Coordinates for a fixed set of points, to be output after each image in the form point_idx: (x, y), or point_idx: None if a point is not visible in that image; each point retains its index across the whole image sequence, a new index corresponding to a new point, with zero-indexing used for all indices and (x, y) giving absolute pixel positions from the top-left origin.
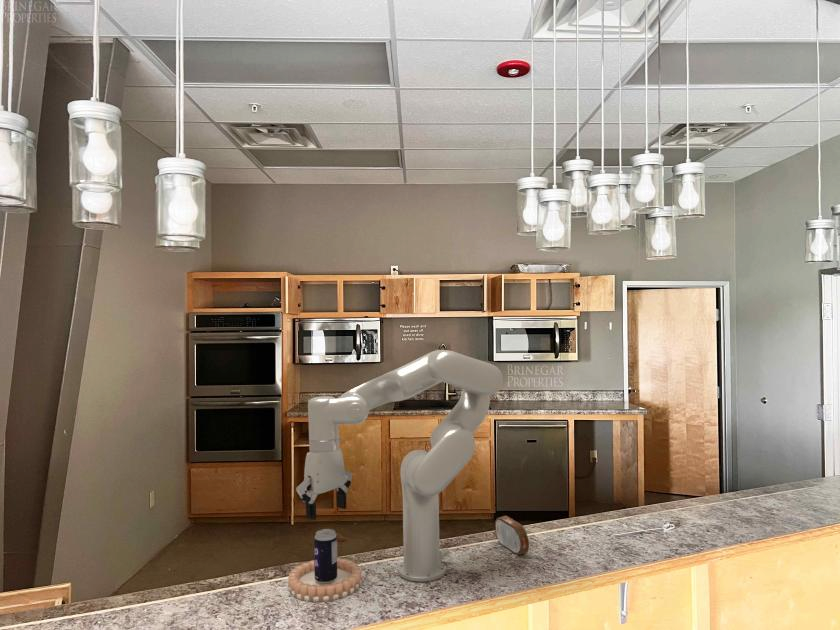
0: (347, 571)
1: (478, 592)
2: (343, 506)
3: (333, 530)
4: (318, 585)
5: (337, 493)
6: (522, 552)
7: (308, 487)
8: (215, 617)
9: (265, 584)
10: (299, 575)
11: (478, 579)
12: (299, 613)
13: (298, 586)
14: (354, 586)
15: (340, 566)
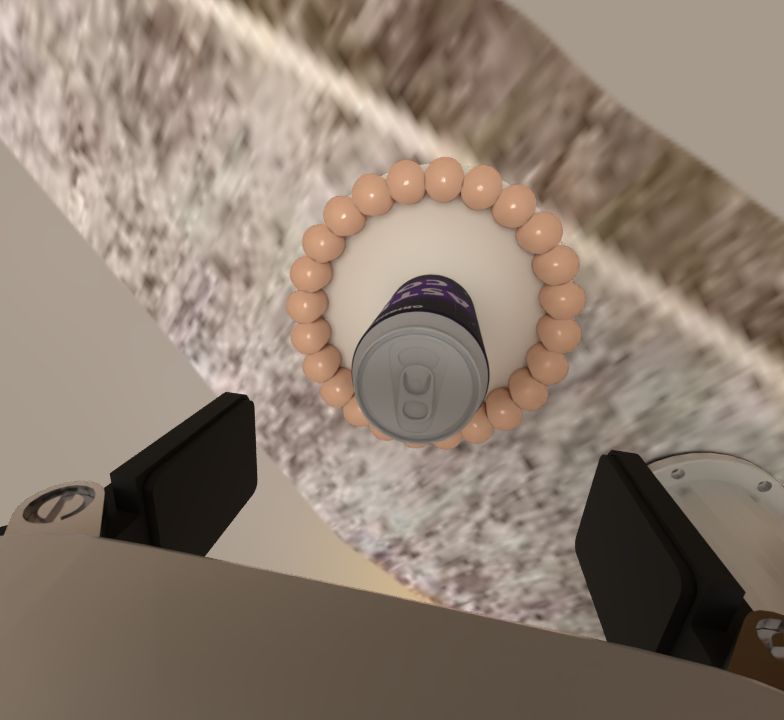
0: (535, 332)
1: None
2: (581, 558)
3: (476, 402)
4: None
5: (668, 598)
6: None
7: (3, 578)
8: (71, 183)
9: (294, 100)
10: (380, 214)
11: None
12: (257, 379)
13: (293, 318)
14: None
15: (541, 297)
